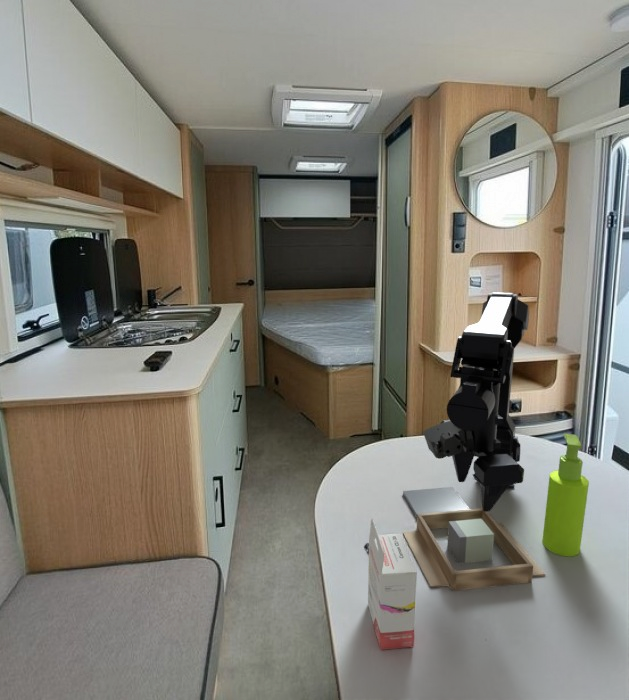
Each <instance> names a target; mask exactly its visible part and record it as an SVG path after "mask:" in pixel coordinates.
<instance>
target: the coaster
mask: <svg viewBox="0 0 629 700" xmlns="http://www.w3.org/2000/svg"><path fill="white" fill-rule="evenodd" d="M402 495H403V497H404V499H405V500H406V502H407V503H408V505H409V507H410V509H411V511H412V512H413V514H414V516H415V518H416V519H417V514H425V513H436V512H447V511H458V510H469V509H471V508H470V507H469V506H468V504H467V503H466V502H465V501H464V499H463V498H462V497H461V496H460V495H459V492H457V491H456V489H455V488H454V487H453V486H448V487H437V488H435V487H434V488H425V489H424V488H423V489H412V490H403V491H402Z"/></svg>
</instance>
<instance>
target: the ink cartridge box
mask: <svg viewBox="0 0 629 700" xmlns="http://www.w3.org/2000/svg"><path fill="white" fill-rule="evenodd" d="M368 538H369V539H368V543H369V554H368V581H367V582H368V583H367V585H368V587H367V605H368V608H369V613H370V617H371V619H372V621H371V622H372V624H373V627H374V631H375V634H376V638H377V642H378V646H379V650H380V651H381V650H390V649H391V650H392V649H401V648H402V649H405V648H406V649H407V648H414V647H415V646H414V644H415V619H416V593H417V578H418V577H417V576H418V575H417V573H418V571H417V569H416V566H415V564H414V561H413V559H412V557H411V554H410V551H409V550H408V546H407V545H406V543H405V539H404V538H403V535H402V533H390V534H389V533H387V534H379V532H378V529H377V527H376V523H375V521H374V519H373V518H371V521H370V529H369V537H368Z"/></svg>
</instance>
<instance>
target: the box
mask: <svg viewBox="0 0 629 700" xmlns="http://www.w3.org/2000/svg"><path fill="white" fill-rule="evenodd" d="M447 528H448V529H447V545H446V546H447V548H448V550H449V551H450V553H451V554H452V556H453V558H454V559H455V561H456V563H457V564H467V563H476V562H477V563H478V562H486V561H492V560H493V551H494V541H495V540H494V533H493V532H492V531H491V530H490V529H489V527H488V526H487V525H486V524H485V522H484V521H483V520H482V519H471V520H460V521H450V522H449V527H447Z"/></svg>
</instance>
